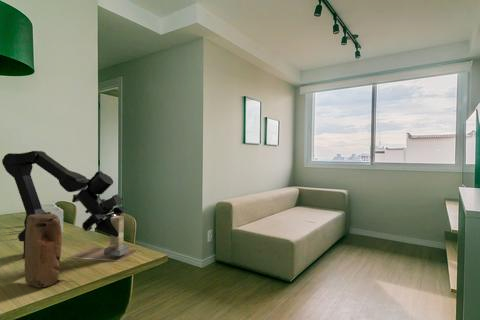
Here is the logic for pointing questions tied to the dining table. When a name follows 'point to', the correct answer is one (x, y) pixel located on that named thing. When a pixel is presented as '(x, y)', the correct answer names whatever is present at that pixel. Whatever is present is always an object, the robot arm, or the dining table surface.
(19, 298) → the dining table surface
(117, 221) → the wooden post with base
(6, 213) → the dining table surface
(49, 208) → the storage container
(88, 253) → the plank
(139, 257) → the dining table surface
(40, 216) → the block
